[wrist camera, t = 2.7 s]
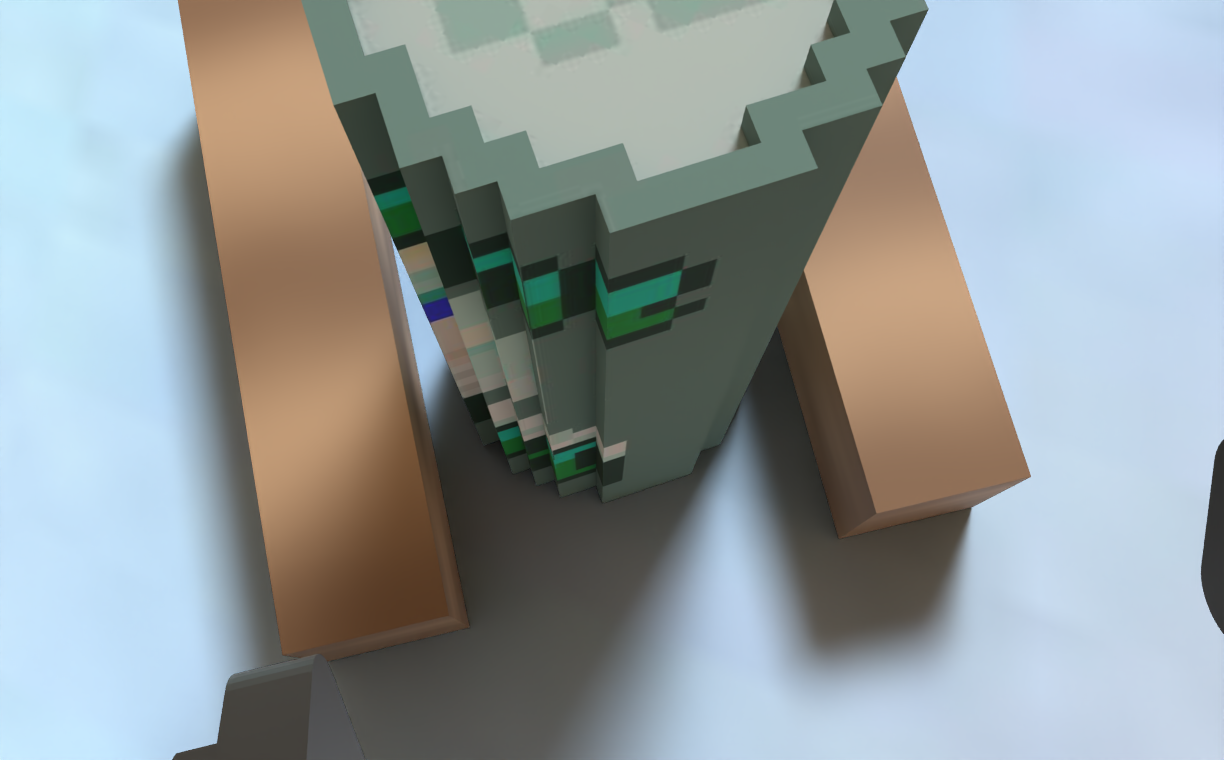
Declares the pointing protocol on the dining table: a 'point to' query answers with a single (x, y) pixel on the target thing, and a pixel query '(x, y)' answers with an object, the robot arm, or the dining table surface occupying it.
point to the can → (607, 199)
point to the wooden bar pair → (388, 376)
